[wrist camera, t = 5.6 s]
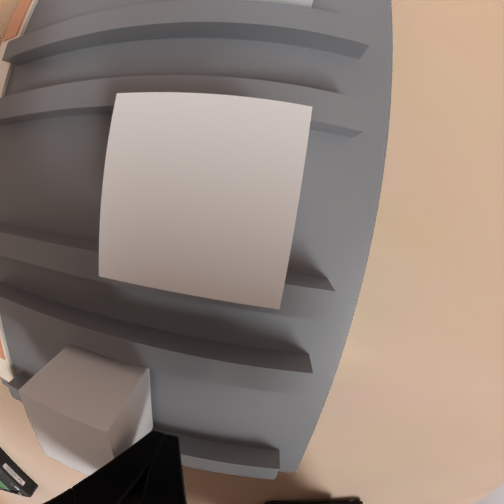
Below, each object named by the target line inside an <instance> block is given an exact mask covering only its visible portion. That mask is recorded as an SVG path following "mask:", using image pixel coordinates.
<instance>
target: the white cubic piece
mask: <svg viewBox="0 0 504 504" xmlns="http://www.w3.org/2000/svg"><path fill="white" fill-rule="evenodd" d="M18 392H19V395H20V397H21V400H22V403H23V405H24V408H25V410H26V413H27V415H28V418H29V420H30V423H31V425H32V427H33V429H34V432H35V434H36V436H37V438H38V440H39V442H40V444H41V446H42V448H43V450H44V452H45V454H46V455H47V456H49V457H51V458H53V459H55V460H57V461H59V462H61V463H63V464H64V465H66V466H69V467H71V468H73V469H75V470H77V471H79V472H81V473H83V474H86V475H88V476H90V475H91V474H93V473H94V472H95V471H97V470H98V469H100V468H101V467H103V466H104V465H106V464H107V463H108V462H110V461H111V460H113V459H114V458H115V457H117V456H118V455H120V454H121V453H122V452H124V451H125V450H126V449H128V448H129V447H131V446H132V445H133V444H135V443H136V442H137V441H139V440H140V439H141V438H143V437H144V436H145V435H147V434H148V433H149V432H150V431H151V430H152V428H153V420H152V407H151V391H150V369H149V368H145V367H141V366H137V365H134V364H130V363H127V362H123V361H120V360H117V359H113V358H110V357H107V356H104V355H101V354H97V353H94V352H91V351H88V350H86V349H83V348H80V347H77V346H74V345H71V344H69V345H68V346H66V347H65V348H64V349H63V350H62V351H61V352H60V353H58V354H57V355H56V356H55V357H54V358H53V359H52V360H51V361H50V362H48V363H47V364H46V365H45V366H44V367H43V368H42V369H41V370H40V371H38V372H37V373H36V374H35V375H34V376H33V377H32V378H31V379H30V380H29V381H28V382H27V383H25V384H24V385H23V386H22V387H21V388H20V389H19V390H18Z"/></svg>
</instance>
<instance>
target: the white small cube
mask: <svg viewBox="0 0 504 504" xmlns="http://www.w3.org/2000/svg"><path fill="white" fill-rule="evenodd" d="M311 114H312V106H306V105H301V104H295V103H289V102H282V101H275V100H268V99H260V98H252V97H243V96H232V95H220V94H205V93H182V92H137V93H117V95H116V100H115V104H114V109H113V115H112V120H111V126H110V132H109V138H108V144H107V151H106V159H105V167H104V176H103V186H102V197H101V210H100V229H99V276H100V277H104V278H109V279H113V280H118V281H122V282H127V283H132V284H136V285H141V286H146V287H151V288H156V289H161V290H166V291H171V292H177V293H182V294H187V295H193V296H198V297H204V298H210V299H215V300H221V301H227V302H233V303H239V304H246V305H252V306H259V307H265V308H272V309H279V310H280V305H281V300H282V295H283V289H284V284H285V279H286V273H287V268H288V262H289V257H290V251H291V245H292V239H293V234H294V228H295V222H296V216H297V210H298V203H299V197H300V191H301V184H302V178H303V171H304V164H305V158H306V151H307V144H308V136H309V129H310V122H311Z"/></svg>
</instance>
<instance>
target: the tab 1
mask: <svg viewBox="0 0 504 504" xmlns="http://www.w3.org/2000/svg"><path fill="white" fill-rule="evenodd" d="M250 1H263V2H273V3H282V4H289V5H296V6H303V7H309V8H312V3H313V0H250Z"/></svg>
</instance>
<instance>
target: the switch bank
mask: <svg viewBox="0 0 504 504" xmlns="http://www.w3.org/2000/svg"><path fill="white" fill-rule="evenodd" d="M392 51H393V42H392V7H391V0H313V3H312V8H309V7H303V6H296V5H289V4H282V3H273V2H263V1H250V0H20V1H19V3H18V5H17V7H16V9H15V11H14V14H13V16H12V18H11V20H10V23H9V25H8V27H7V30H6V32H5V35H4V38H3V40H2V43H1V46H0V377H1V379H2V382H3V384H5V385H6V386H8V387H9V389H10V392H11V395H12V397H14V398H15V399H17V400H19V401H21V402H22V400H21V397H20V395H19V392H18V390H19V389H20V388H21V387H22V386H23V385H24V384H25V383H27V382H28V381H29V380H30V379H31V378H32V377H33V376H34V375H35V374H36V373H37V372H38V371H40V370H41V369H42V368H43V367H44V366H45V365H46V364H47V363H48V362H50V361H51V360H52V359H53V358H54V357H55V356H56V355H57V354H58V353H60V352H61V351H62V350H63V349H64V348H65V347H66V346H68V345H69V344H71V345H74V346H77V347H80V348H83V349H86V350H88V351H91V352H94V353H97V354H101V355H104V356H107V357H110V358H113V359H117V360H120V361H123V362H127V363H130V364H134V365H137V366H141V367H145V368H149V369H150V391H151V407H152V420H153V428H152V430H157V431H161V432H164V433H166V434H167V433H168V434H172V435H176V436H178V437H179V440H180V451H181V461H182V466H186V467H191V468H195V469H200V470H205V471H211V472H216V473H222V474H229V475H236V476H243V477H252V478H262V479H273V480H275V479H276V477H277V474H278V472H291V473H295V472H296V470H297V468H298V466H299V464H300V461H301V459H302V457H303V455H304V452H305V450H306V448H307V446H308V443H309V441H310V439H311V436H312V434H313V431H314V429H315V427H316V424H317V422H318V419H319V417H320V414H321V412H322V409H323V406H324V404H325V401H326V398H327V396H328V393H329V390H330V387H331V385H332V382H333V379H334V376H335V373H336V370H337V367H338V364H339V361H340V358H341V355H342V352H343V349H344V346H345V342H346V339H347V336H348V333H349V329H350V326H351V322H352V319H353V315H354V312H355V308H356V304H357V301H358V297H359V293H360V289H361V285H362V281H363V277H364V273H365V269H366V264H367V260H368V255H369V251H370V246H371V241H372V236H373V231H374V226H375V221H376V216H377V210H378V204H379V198H380V192H381V186H382V179H383V172H384V164H385V157H386V148H387V139H388V129H389V118H390V104H391V87H392ZM137 92H182V93H205V94H220V95H232V96H243V97H252V98H260V99H268V100H275V101H282V102H289V103H295V104H301V105H306V106H312V114H311V122H310V129H309V136H308V144H307V151H306V158H305V164H304V171H303V178H302V184H301V191H300V197H299V203H298V210H297V216H296V222H295V228H294V234H293V239H292V245H291V251H290V257H289V262H288V268H287V273H286V279H285V284H284V289H283V295H282V300H281V305H280V310H279V309H272V308H265V307H259V306H252V305H246V304H239V303H233V302H227V301H221V300H215V299H210V298H204V297H198V296H193V295H187V294H182V293H177V292H171V291H166V290H161V289H156V288H151V287H146V286H141V285H136V284H132V283H127V282H122V281H118V280H113V279H109V278H104V277H100V276H99V229H100V210H101V197H102V186H103V176H104V167H105V159H106V151H107V144H108V138H109V132H110V126H111V120H112V115H113V109H114V104H115V100H116V95H117V93H137ZM152 430H151V431H152Z"/></svg>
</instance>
